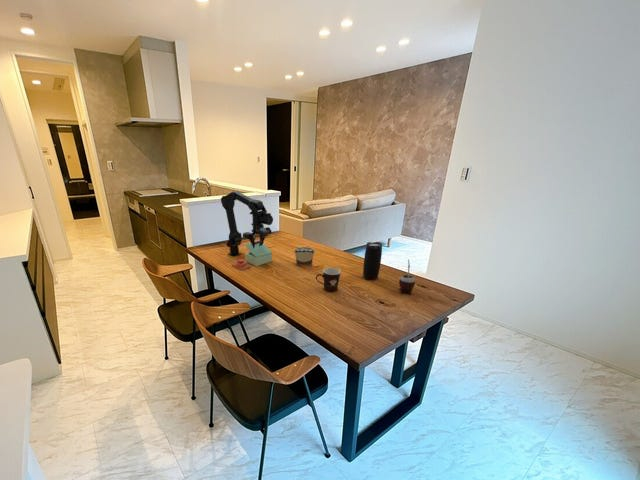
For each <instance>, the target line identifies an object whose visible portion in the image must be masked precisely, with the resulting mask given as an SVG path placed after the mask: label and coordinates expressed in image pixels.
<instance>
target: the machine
mask: <svg viewBox="0 0 640 480" xmlns="http://www.w3.org/2000/svg"><path fill="white" fill-rule="evenodd" d="M272 253H273V252H272ZM272 253H270V254H267V255H264V256H261V257H257V258H256V257H255V256H254V255H253V254H252V253H251V252H250V251H249V252H246V253H245V255H244V259H245V261H246V263H249V264H251V265H253V266H256V267H258V266H261V265H264V264H267V263H270V262H273V254H272Z"/></svg>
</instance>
